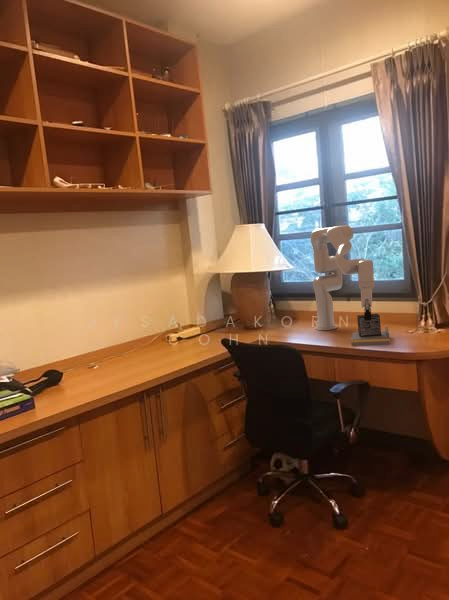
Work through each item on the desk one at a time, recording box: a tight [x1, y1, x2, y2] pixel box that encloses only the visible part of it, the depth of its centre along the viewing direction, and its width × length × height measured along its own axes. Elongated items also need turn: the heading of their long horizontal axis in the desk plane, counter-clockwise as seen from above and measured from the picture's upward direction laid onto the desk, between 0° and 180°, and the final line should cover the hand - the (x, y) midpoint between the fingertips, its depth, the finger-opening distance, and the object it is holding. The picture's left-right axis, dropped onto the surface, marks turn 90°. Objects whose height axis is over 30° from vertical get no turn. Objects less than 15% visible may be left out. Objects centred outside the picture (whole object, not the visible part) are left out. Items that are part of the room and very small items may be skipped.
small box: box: [356, 313, 382, 337], centre depth 245 cm, size 11×6×10 cm, turn 82°
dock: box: [350, 326, 391, 346], centre depth 245 cm, size 16×18×5 cm
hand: (368, 317), depth 245 cm, fingers open, 9 cm apart
